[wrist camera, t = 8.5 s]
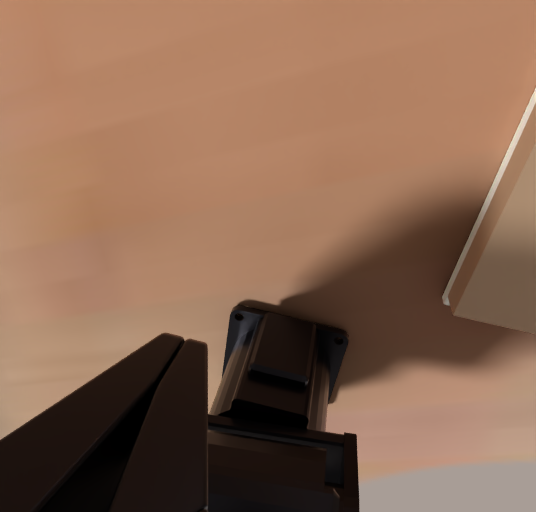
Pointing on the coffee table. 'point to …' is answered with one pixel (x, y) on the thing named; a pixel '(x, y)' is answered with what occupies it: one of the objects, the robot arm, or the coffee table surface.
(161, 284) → the coffee table surface
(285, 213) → the coffee table surface
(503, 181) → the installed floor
